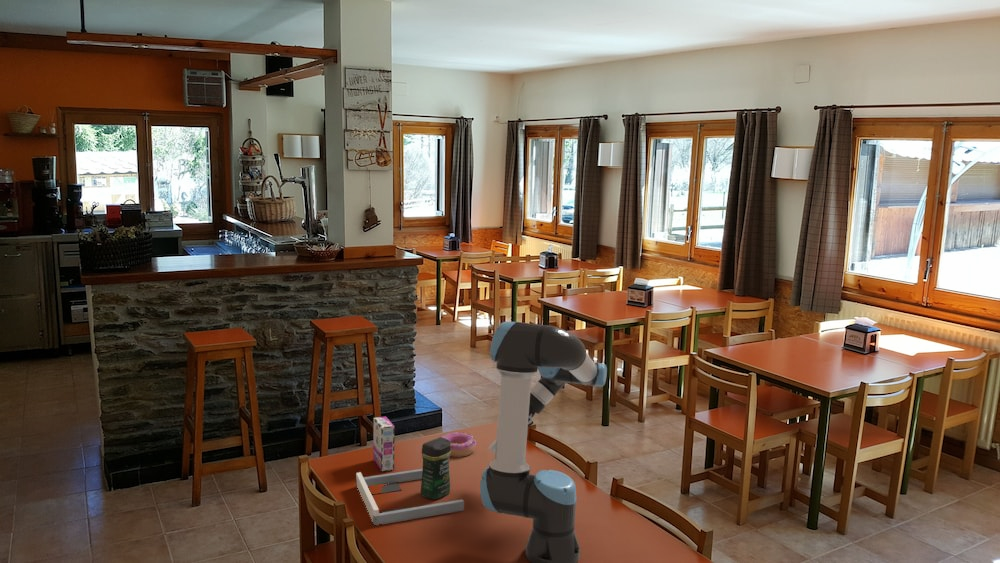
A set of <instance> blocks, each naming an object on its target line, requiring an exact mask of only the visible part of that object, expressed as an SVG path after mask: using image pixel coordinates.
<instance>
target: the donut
mask: <svg viewBox="0 0 1000 563" xmlns="http://www.w3.org/2000/svg"><path fill="white" fill-rule="evenodd" d="M440 437H442V438H445V439H447V440H449V441H450V443H451V453H450V457H455V458H462V457H466V456H470V455H471V454H473V453H474V452H475V450H476V447H477V441H476V438H475V437H474V436H473V435H471V434H470V433H466V432H460V431H459V432H457V431H456V432H448V433H445V434H443V435H441V436H440Z"/></svg>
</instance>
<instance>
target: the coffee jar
mask: <svg viewBox="0 0 1000 563" xmlns="http://www.w3.org/2000/svg"><path fill="white" fill-rule="evenodd" d="M450 453H451V443H450V441H449V440H447V439H445V438H442V437H441V436H439V437H437V438H434V439H432V440H431V439H430V440H428V441H427V442H424V443H422V447H421V456H422V469H423V471H422V479H421V484H420V495H421V496H423V497H424V498H425V499H428V500H439V499H441V498H443V497H446V496H447V495H449V493H450V492H451V480H450V479H451V478H450V477H451V476H450V475H451V474H450V457H451V456H450Z"/></svg>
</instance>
